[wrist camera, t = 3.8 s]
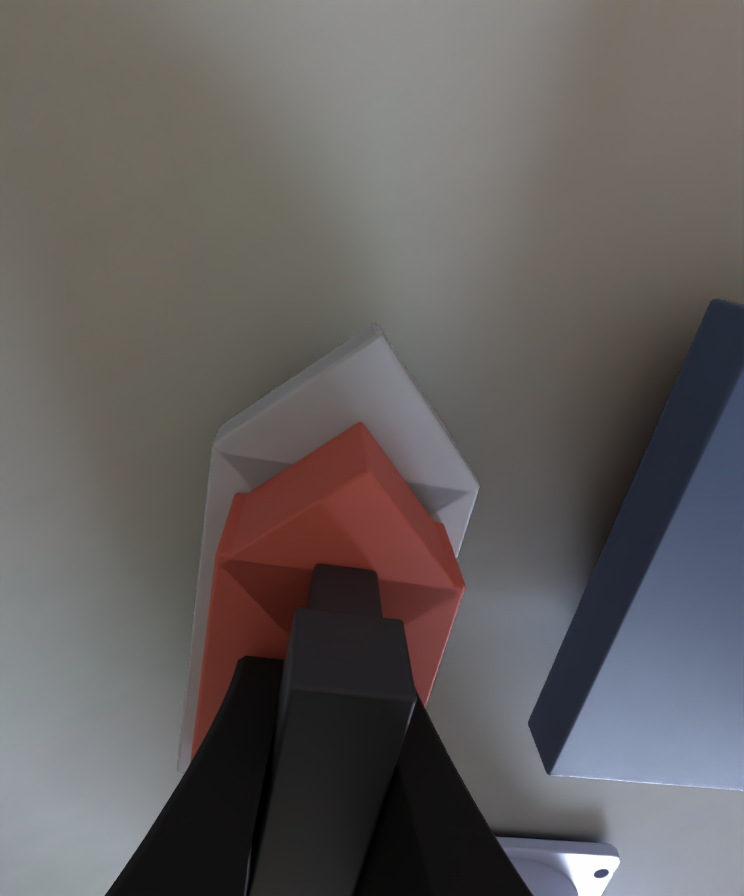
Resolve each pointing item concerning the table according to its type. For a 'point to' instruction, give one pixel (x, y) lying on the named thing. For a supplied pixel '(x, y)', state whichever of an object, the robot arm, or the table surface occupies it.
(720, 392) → the ironing board
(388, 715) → the iron
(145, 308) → the table surface
